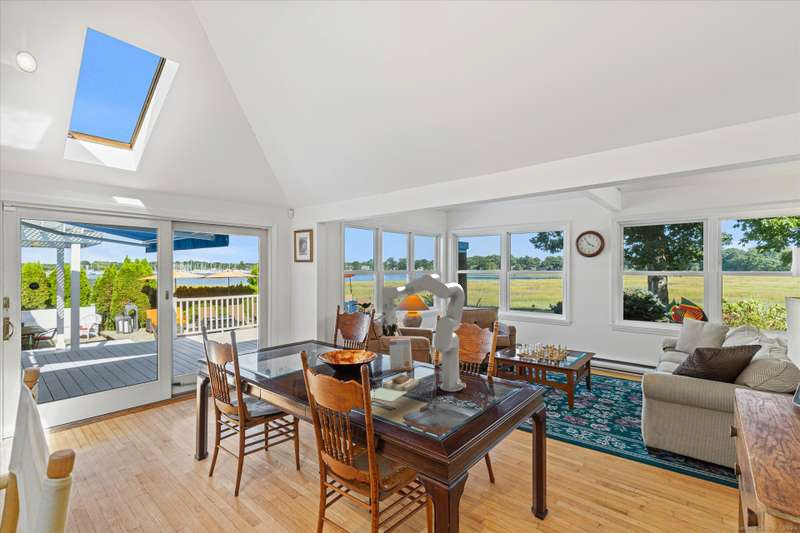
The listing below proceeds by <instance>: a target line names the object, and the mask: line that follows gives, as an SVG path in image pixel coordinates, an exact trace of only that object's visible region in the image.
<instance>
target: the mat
mask: <svg viewBox="0 0 800 533" xmlns="http://www.w3.org/2000/svg"><path fill="white" fill-rule="evenodd" d="M374 391H375V392H374ZM371 392H373V395H372V398H371V399H376V400H379V401H380V400H381V401H385V402H389V403H392V402H393V401H396V400H397V399H399V398H400V397H402V396H403V395H405V394H407V393H408V391H401V390H396V389H390V388H385V387H383V386H380V387H378V388H376V389H375V390H373V391H371ZM374 395H375V396H374Z"/></svg>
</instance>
